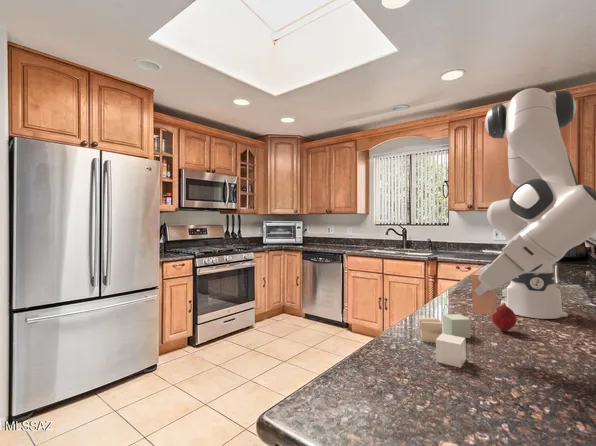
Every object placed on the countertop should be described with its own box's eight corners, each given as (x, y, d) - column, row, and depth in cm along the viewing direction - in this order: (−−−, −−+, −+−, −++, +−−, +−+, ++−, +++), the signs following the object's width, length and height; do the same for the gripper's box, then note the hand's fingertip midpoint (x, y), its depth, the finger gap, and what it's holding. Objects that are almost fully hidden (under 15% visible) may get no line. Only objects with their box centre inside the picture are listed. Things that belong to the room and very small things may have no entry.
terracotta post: (478, 308, 79) (477, 272, 79) (496, 311, 76) (495, 273, 76) (472, 312, 76) (471, 274, 76) (491, 315, 73) (490, 276, 73)
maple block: (419, 335, 88) (418, 317, 88) (438, 336, 87) (438, 318, 87) (421, 341, 83) (421, 322, 83) (442, 343, 82) (442, 323, 82)
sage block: (443, 332, 91) (442, 314, 91) (460, 331, 91) (460, 314, 91) (452, 338, 86) (451, 319, 86) (470, 338, 86) (470, 319, 86)
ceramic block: (442, 354, 75) (441, 333, 75) (465, 360, 72) (465, 337, 72) (436, 362, 71) (435, 339, 71) (460, 368, 68) (460, 344, 68)
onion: (520, 335, 87) (520, 305, 87) (497, 334, 88) (496, 304, 88) (510, 328, 93) (510, 300, 93) (489, 327, 94) (488, 300, 94)
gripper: (528, 238, 78) (484, 274, 85) (505, 244, 64) (455, 287, 71) (551, 258, 75) (504, 293, 82) (532, 269, 61) (477, 310, 68)
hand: (481, 290), depth 77 cm, fingers closed on terracotta post, 4 cm apart
